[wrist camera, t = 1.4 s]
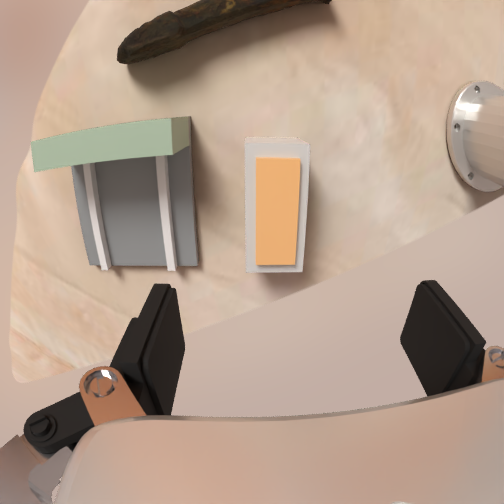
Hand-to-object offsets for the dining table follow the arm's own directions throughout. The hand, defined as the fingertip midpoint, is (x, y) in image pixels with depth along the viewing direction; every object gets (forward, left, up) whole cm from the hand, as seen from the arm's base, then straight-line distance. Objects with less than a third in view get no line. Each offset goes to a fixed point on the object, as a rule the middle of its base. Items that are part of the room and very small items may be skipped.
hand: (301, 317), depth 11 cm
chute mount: (+13, 0, -18) cm, 22 cm away
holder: (0, 0, -18) cm, 18 cm away
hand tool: (+4, -16, -19) cm, 25 cm away
